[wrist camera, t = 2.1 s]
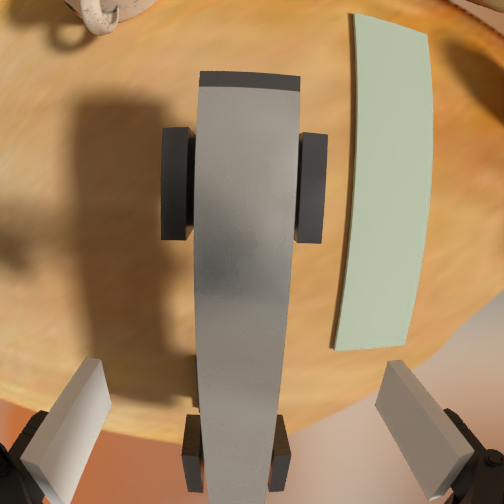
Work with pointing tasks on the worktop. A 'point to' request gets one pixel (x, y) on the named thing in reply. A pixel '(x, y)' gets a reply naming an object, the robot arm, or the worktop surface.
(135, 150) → the worktop surface
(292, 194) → the rail
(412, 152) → the mat
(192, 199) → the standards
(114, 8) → the teacup with lid
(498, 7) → the bread roll
